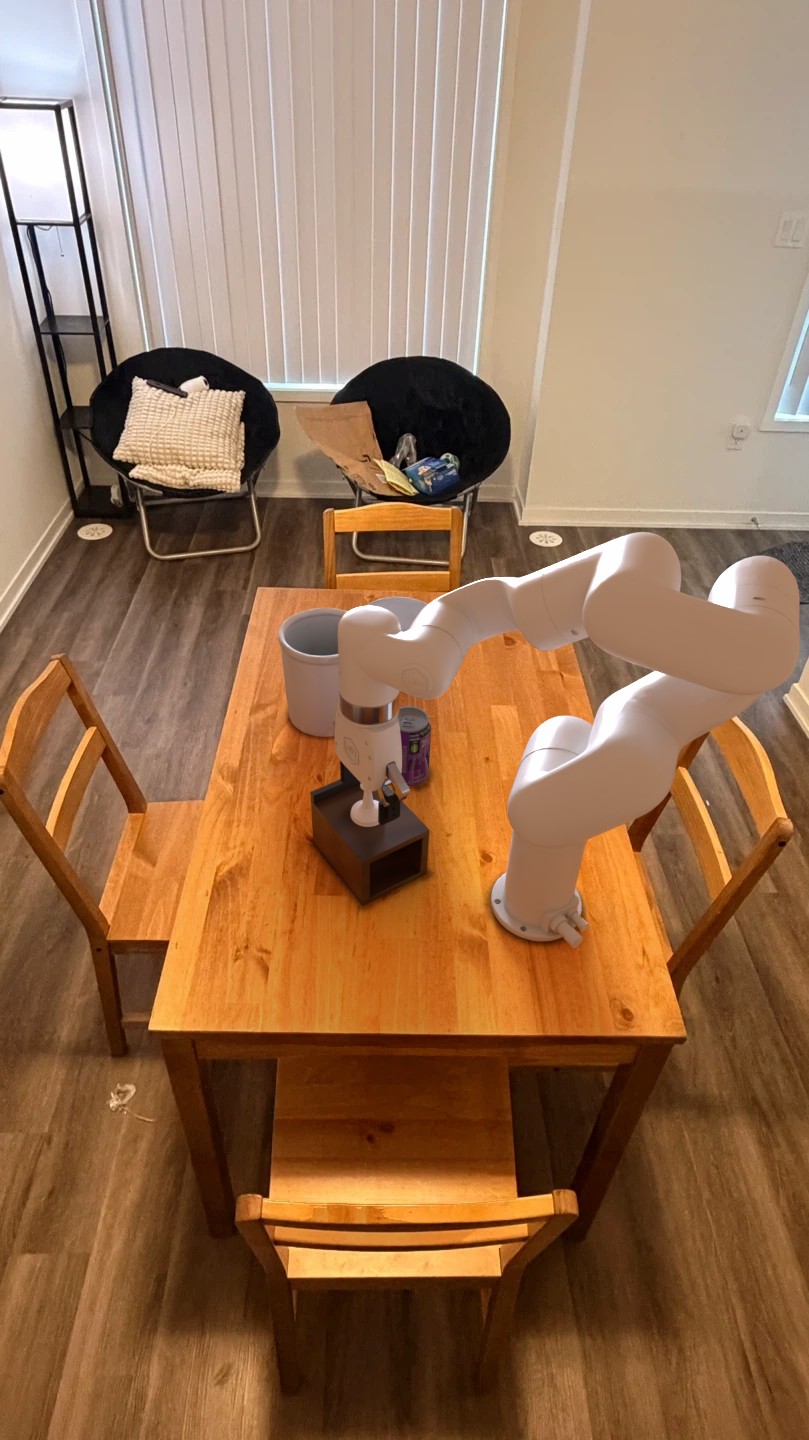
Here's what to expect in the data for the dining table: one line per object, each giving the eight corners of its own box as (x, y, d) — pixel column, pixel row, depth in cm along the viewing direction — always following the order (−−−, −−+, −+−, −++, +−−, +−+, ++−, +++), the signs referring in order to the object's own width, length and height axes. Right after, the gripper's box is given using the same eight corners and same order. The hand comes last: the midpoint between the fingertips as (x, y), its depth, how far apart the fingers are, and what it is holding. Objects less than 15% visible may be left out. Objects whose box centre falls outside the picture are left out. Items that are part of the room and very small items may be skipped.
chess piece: (351, 801, 122) (350, 748, 116) (386, 802, 122) (387, 749, 116) (349, 826, 118) (348, 773, 112) (384, 827, 118) (385, 774, 112)
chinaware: (357, 630, 173) (357, 597, 169) (430, 628, 175) (432, 595, 170) (362, 673, 162) (362, 639, 157) (440, 670, 163) (443, 636, 158)
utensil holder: (348, 749, 145) (347, 664, 134) (270, 727, 149) (262, 644, 138) (380, 700, 156) (382, 618, 145) (306, 681, 159) (302, 600, 148)
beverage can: (424, 793, 137) (427, 735, 129) (381, 786, 138) (381, 728, 130) (432, 764, 142) (435, 707, 135) (390, 757, 143) (391, 701, 136)
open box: (426, 873, 124) (430, 821, 117) (362, 906, 119) (362, 854, 112) (374, 815, 133) (375, 763, 126) (312, 844, 128) (309, 791, 121)
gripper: (309, 676, 111) (315, 773, 122) (382, 749, 100) (381, 849, 111) (358, 658, 114) (359, 754, 125) (433, 727, 103) (428, 826, 114)
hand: (369, 799), depth 118 cm, fingers open, 9 cm apart
